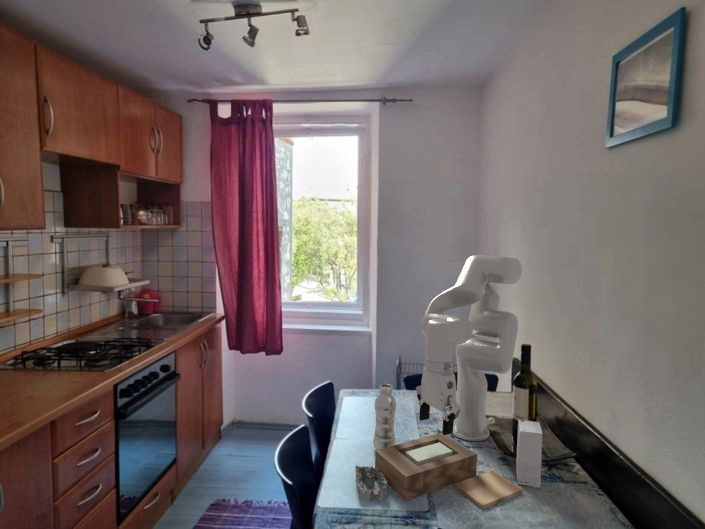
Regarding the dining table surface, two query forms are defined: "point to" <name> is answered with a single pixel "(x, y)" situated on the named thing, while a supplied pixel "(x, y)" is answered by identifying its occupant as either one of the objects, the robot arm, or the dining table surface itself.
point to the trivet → (487, 489)
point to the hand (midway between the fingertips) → (435, 426)
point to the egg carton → (370, 482)
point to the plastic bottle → (384, 418)
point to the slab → (428, 454)
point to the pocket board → (425, 467)
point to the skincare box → (529, 453)
